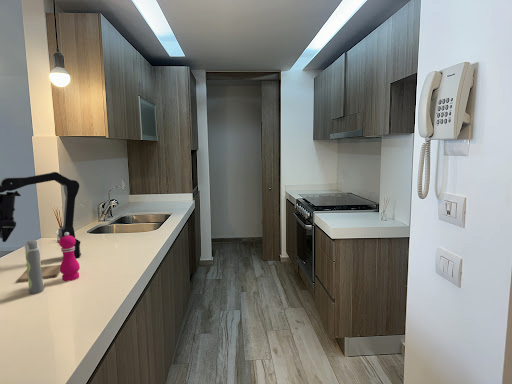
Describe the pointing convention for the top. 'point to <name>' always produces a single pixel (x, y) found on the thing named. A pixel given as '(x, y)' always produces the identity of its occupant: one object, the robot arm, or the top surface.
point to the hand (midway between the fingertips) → (2, 239)
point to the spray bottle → (34, 267)
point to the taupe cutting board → (43, 273)
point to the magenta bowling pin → (68, 258)
